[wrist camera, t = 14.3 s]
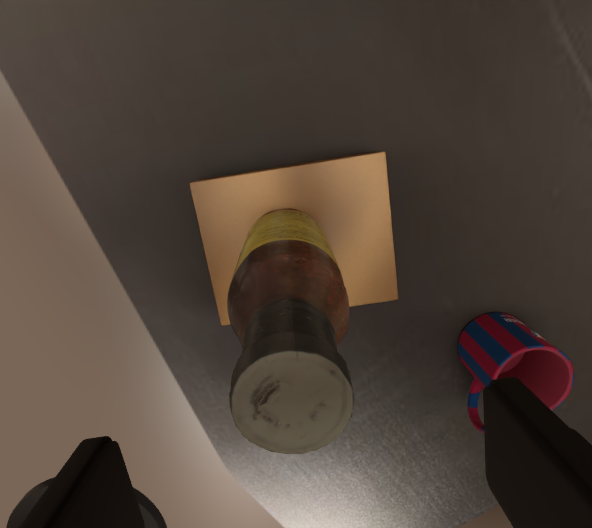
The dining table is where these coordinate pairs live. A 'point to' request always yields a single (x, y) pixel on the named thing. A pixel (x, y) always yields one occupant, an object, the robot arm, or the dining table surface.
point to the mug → (512, 360)
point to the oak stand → (312, 201)
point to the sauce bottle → (289, 336)
